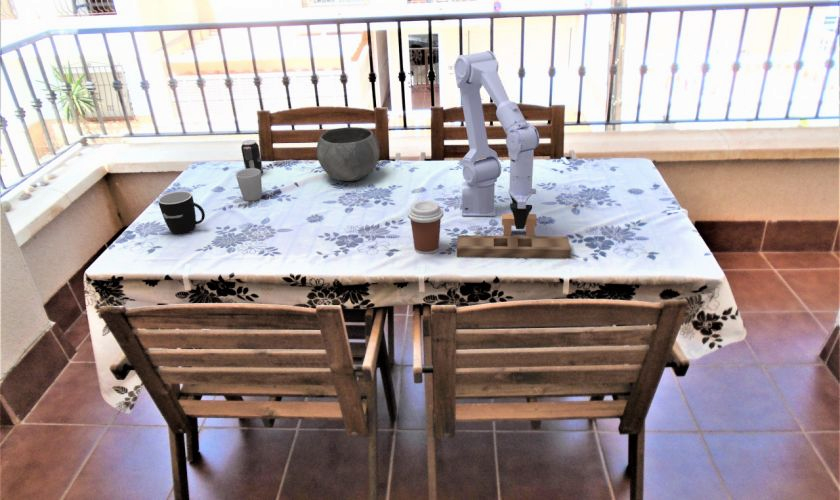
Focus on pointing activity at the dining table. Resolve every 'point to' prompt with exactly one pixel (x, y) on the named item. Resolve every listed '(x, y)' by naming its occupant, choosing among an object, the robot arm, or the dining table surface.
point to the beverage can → (251, 155)
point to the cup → (250, 183)
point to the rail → (513, 246)
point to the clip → (509, 222)
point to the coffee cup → (425, 226)
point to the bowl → (348, 153)
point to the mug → (180, 211)
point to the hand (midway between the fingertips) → (519, 222)
